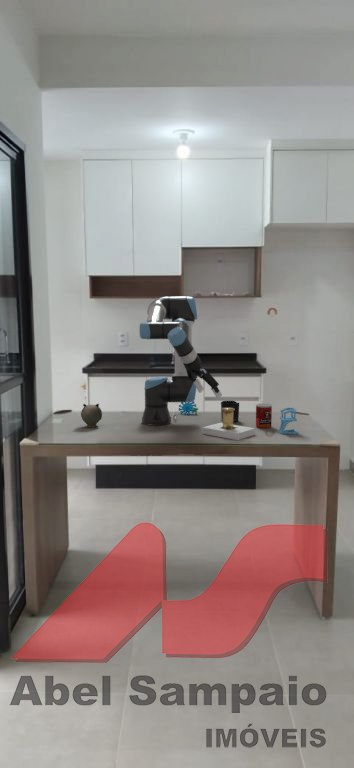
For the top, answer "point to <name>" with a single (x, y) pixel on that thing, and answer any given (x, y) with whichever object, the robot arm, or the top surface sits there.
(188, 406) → the gear
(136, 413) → the top surface
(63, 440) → the top surface
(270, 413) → the canned food
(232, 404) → the pen holder
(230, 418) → the brass ball knob
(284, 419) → the chair
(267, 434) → the top surface
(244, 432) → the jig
